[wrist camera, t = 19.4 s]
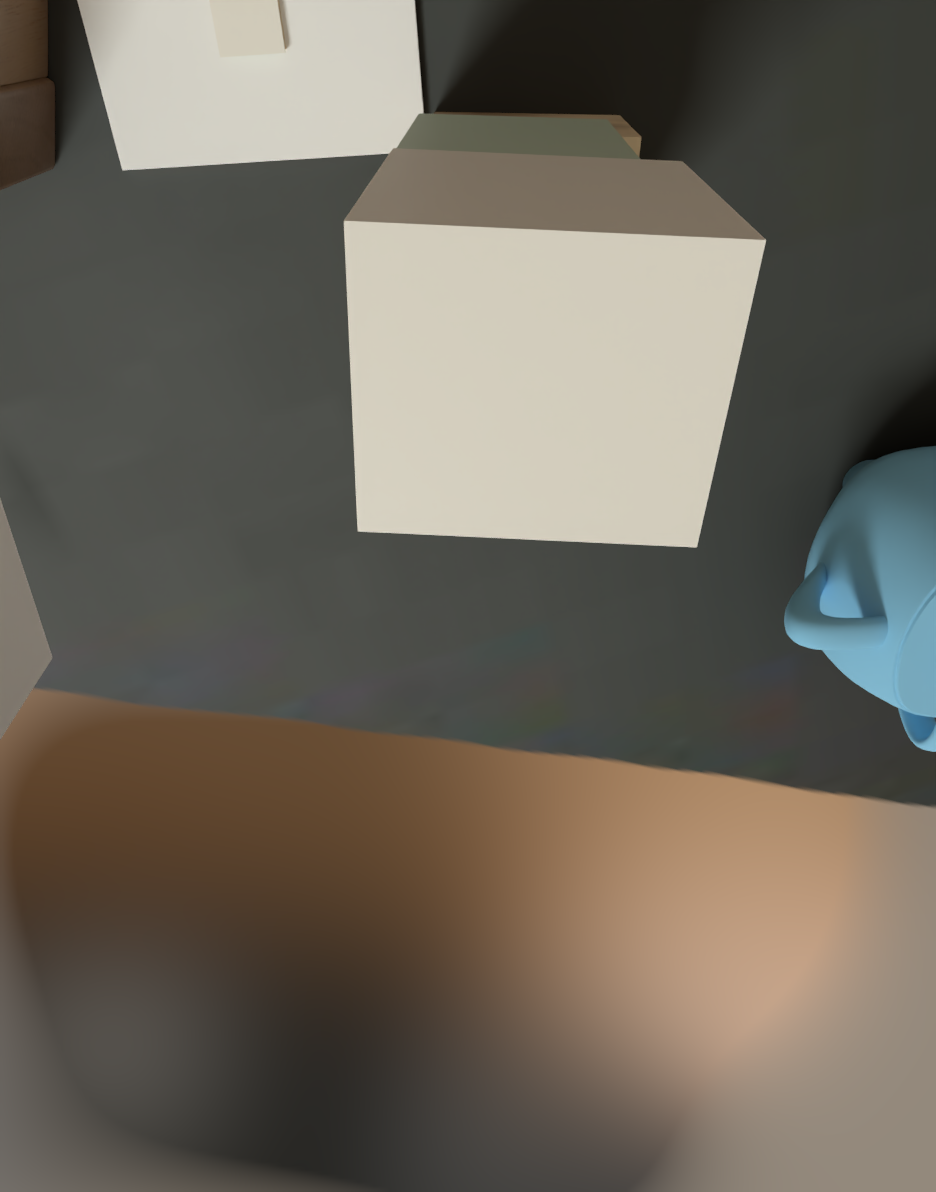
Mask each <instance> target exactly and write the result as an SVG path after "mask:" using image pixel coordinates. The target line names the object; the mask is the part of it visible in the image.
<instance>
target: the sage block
mask: <svg viewBox="0 0 936 1192" xmlns="http://www.w3.org/2000/svg"><path fill="white" fill-rule="evenodd" d="M397 148H401V149H424V150H446V151H468V152H490V153H512V154H534V155H556V156H578V157H600V158H622V159H640V158H639V157H638V155H637V154H636V153H635V152H634V151H633V150H632V148H631V147H630V146H629V145H628V144H627V142H626V141H625V140H624V139H623V138H622V136H621V135H620V134H619V133H618V132H617V130H616V129H615V128H614V127H613V126H612V125H611V123H610V122H609V121H608V120H607V119H580V118H548V117H516V116H484V115H452V114H420V113H419V114H418V116H417V117H416V119H415V120H414V122H413V123H412V125H411V126H410V128H409V130H408V131H407V133H406V134H405V136H404V137H403V139H402V140H401V142H400V143H399V145H398V147H397Z"/></svg>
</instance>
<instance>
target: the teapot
mask: <svg viewBox="0 0 936 1192" xmlns="http://www.w3.org/2000/svg"><path fill="white" fill-rule="evenodd" d="M842 485H843V488H842V490H841V491H840V492H839V494H838V495H837V497H836V498H835V500H834V502H833V503H832V505H831V507H830V508H829V510H828V512H827V514H826V515H825V517H824V519H823V521H822V523H821V525H820V527H819V529H818V531H817V534H816V536H815V538H814V541H813V543H812V546H811V549H810V552H809V556H808V560H807V565H806V570H805V579H804V581H803V582H802V583H801V584H800V586H799V587H798V588H797V590H796V591H795V592H794V594H793V595H792V597H791V598H790V601H789V603H788V605H787V607H786V611H785V617H784V623H785V629H786V632H787V634H788V636H789V637H790V638H791V639H792V640H793V641H794V642H796V643H797V644H799V645H801V646H804V647H807V648H812V649H817V650H823V652H824V653H825V654H826V656H827V657H828V658H829V659H830V660H831V661H832V662H833V663H834V664H835V666H836V667H837V668H838V669H839V670H840V671H841V672H842V673H844V674H845V675H846V676H847V677H848V678H849V679H851V680H852V681H853V682H855V683H856V684H858V685H859V686H861V687H862V688H864V689H865V690H867V691H868V692H870V693H872V694H873V695H875V696H877V697H879V698H880V699H882V700H884V701H886V702H888V703H889V704H891V705H893V706H895V707H898V709H899V713H900V716H901V719H902V722H903V725H904V728H905V730H906V732H907V734H908V736H909V738H910V740H911V741H912V742H913V743H914V744H915V745H916V746H917V747H919V748H921V749H924V750H927V751H935V752H936V722H935V719H934V717H936V446H929V447H919V448H913V449H908V450H902V451H897V452H894V453H891V454H888V455H885V456H882V457H880V458H878V459H876V460H865V461H862V462H860V463H858V464H856V465H854V466H853V467H852V468H851V469H850V470H849V471H848V472H847V473H846V475H845V477H844V479H843V484H842Z"/></svg>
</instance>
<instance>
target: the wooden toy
mask: <svg viewBox="0 0 936 1192" xmlns="http://www.w3.org/2000/svg"><path fill="white" fill-rule="evenodd" d="M47 76H48V0H0V190H2V189H4V188H7V187H9V186H12V185H14V184H17V183H19V182H21V181H24V180H26V179H29V178H31V177H34V176H36V175H39V174H41V173H44V172H46V171H49V170H51V169H53V168H54V166H55V85H54V82H53V81H51V80H50V79H49V78H46V77H47Z"/></svg>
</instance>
